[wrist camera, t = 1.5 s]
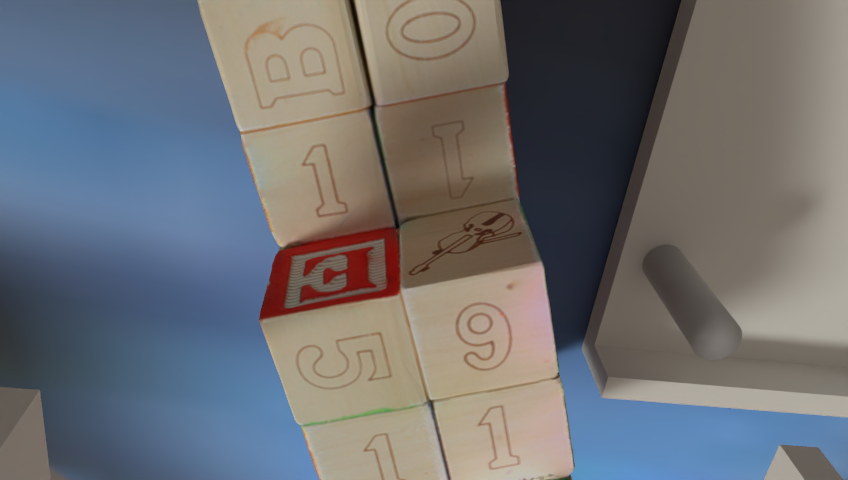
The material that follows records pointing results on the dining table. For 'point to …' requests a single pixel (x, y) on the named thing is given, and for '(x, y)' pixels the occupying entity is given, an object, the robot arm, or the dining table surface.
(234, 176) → the dining table surface
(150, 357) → the dining table surface
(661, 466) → the dining table surface
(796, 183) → the rack with pegs
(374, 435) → the stack of blocks
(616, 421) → the dining table surface
